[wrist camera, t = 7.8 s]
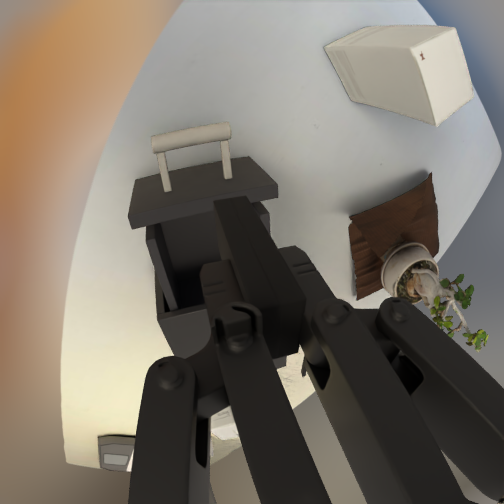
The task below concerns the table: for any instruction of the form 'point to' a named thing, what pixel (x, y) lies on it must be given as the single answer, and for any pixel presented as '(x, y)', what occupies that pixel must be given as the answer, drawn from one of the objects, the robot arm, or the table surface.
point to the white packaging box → (404, 70)
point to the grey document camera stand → (123, 456)
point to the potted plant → (407, 256)
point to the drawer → (192, 209)
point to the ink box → (224, 425)
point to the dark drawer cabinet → (187, 327)
